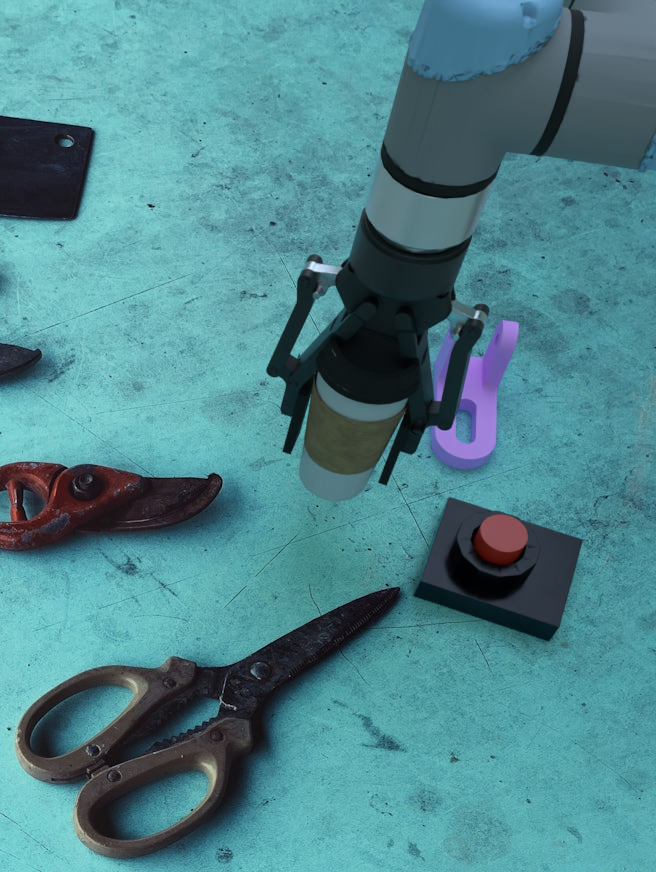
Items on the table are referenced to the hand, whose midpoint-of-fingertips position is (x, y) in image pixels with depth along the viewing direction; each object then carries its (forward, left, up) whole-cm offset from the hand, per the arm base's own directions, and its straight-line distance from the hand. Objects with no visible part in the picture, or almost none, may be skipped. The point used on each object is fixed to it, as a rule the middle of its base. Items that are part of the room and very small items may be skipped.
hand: (338, 457), depth 100 cm
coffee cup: (0, 0, -2) cm, 2 cm away
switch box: (-16, 0, -8) cm, 18 cm away
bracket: (-9, -17, -8) cm, 21 cm away
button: (-15, 0, -4) cm, 16 cm away
